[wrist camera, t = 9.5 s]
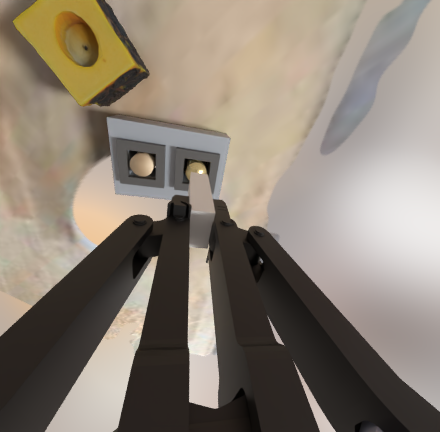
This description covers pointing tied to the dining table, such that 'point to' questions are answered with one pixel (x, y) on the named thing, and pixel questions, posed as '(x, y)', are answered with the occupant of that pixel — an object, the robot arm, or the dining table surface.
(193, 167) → the brass peg
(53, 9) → the candle
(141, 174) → the beech peg
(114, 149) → the socket block
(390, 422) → the robot arm
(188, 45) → the dining table surface
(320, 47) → the dining table surface
